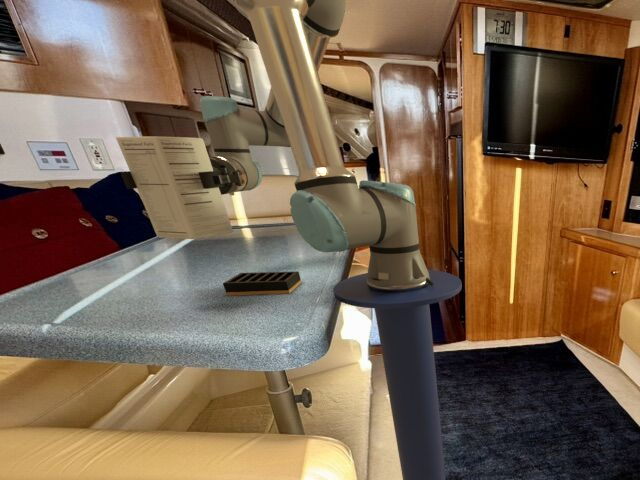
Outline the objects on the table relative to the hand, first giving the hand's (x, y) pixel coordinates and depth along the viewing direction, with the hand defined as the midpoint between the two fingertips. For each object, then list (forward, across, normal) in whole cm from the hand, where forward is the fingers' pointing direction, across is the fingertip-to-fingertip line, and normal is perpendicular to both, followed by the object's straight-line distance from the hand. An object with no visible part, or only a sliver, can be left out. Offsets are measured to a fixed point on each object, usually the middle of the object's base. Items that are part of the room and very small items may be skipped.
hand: (164, 180), depth 72 cm
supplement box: (-4, 0, -10) cm, 11 cm away
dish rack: (-17, -5, -25) cm, 30 cm away
